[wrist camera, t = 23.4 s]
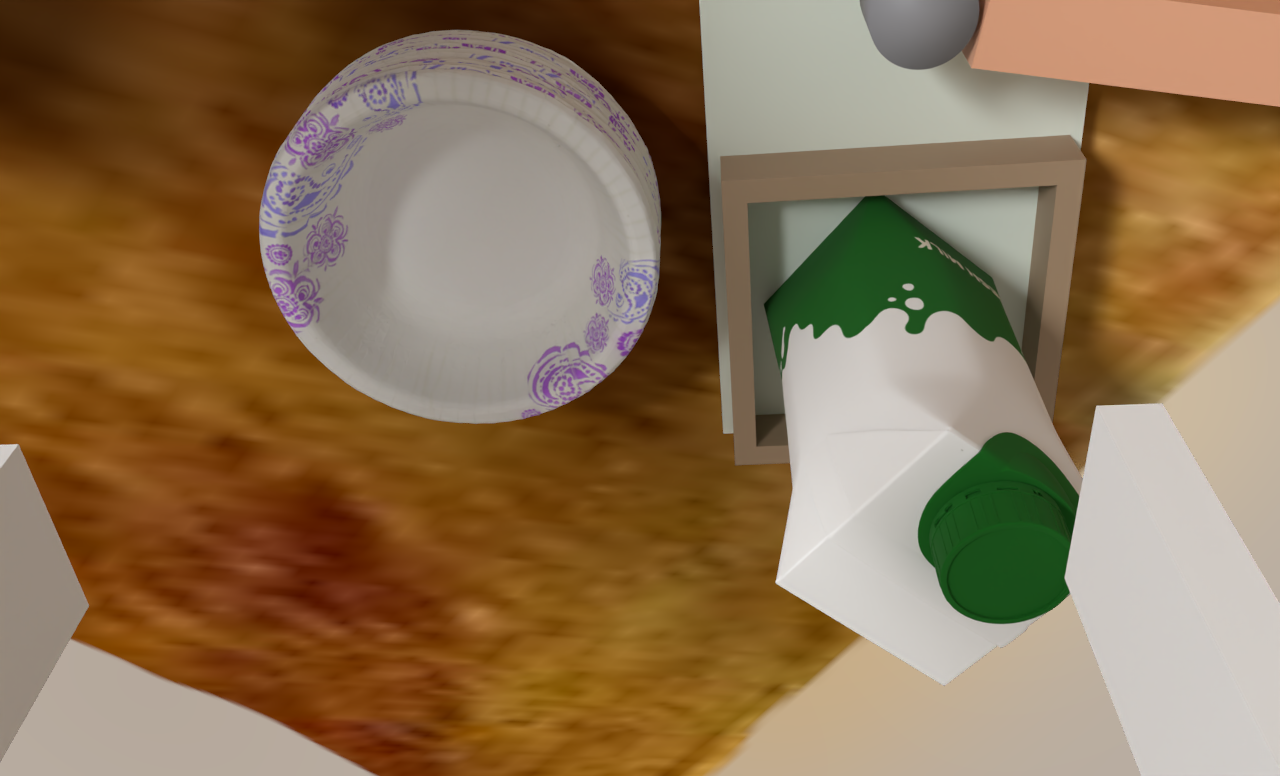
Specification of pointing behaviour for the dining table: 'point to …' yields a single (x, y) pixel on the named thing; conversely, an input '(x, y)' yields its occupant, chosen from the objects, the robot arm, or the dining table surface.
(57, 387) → the dining table surface
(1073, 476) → the soya milk
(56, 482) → the dining table surface
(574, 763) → the dining table surface
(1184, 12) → the leg bar
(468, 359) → the paper bowls
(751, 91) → the seat board
